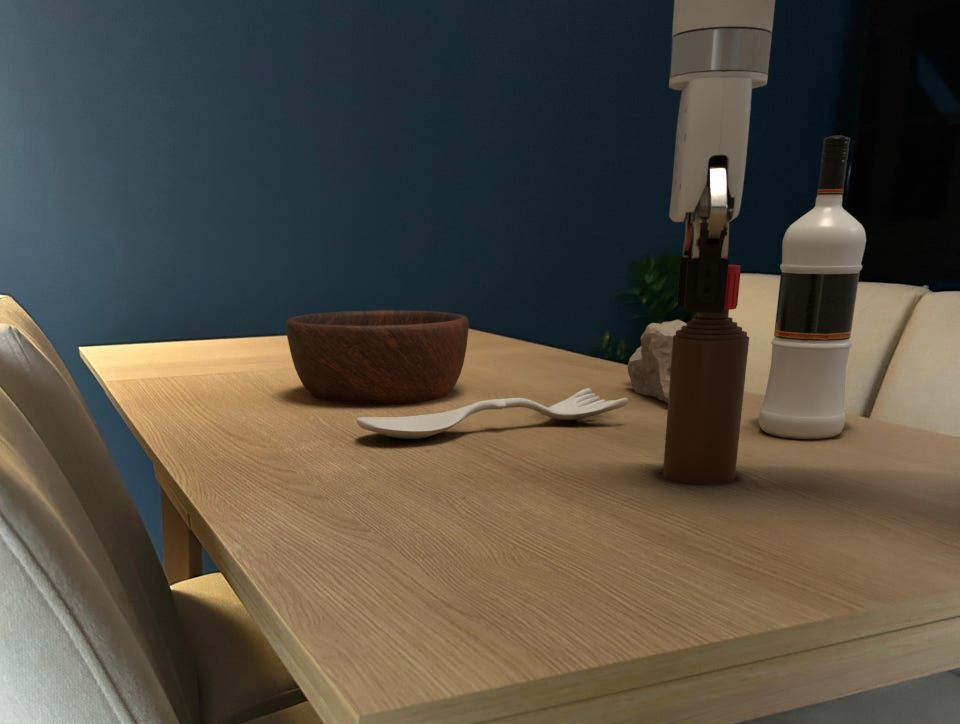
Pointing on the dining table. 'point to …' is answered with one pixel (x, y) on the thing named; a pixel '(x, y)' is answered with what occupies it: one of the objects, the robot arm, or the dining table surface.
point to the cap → (732, 287)
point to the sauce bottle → (705, 400)
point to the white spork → (439, 422)
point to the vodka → (815, 311)
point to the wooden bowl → (378, 354)
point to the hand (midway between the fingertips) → (699, 306)
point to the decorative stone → (654, 360)
